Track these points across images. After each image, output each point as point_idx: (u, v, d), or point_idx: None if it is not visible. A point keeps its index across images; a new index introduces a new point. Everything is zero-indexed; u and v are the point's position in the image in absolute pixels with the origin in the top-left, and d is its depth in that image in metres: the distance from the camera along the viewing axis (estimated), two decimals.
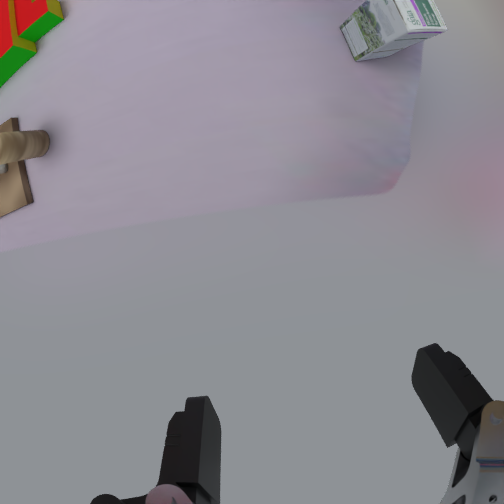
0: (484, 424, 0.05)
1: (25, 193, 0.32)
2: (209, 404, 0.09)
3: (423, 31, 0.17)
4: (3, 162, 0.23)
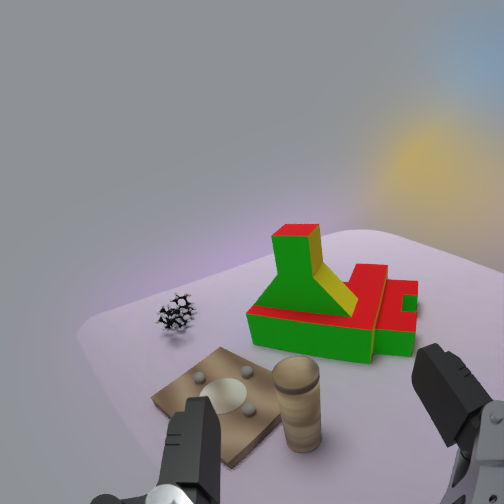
0: (484, 424, 0.05)
1: (238, 454, 0.26)
2: (209, 404, 0.09)
3: None
4: (288, 406, 0.23)
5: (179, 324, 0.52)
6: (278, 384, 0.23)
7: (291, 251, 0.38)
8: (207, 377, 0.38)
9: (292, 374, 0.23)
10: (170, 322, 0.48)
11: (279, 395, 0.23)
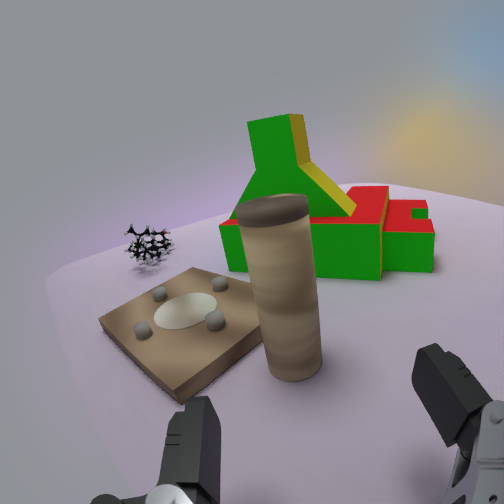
0: (484, 424, 0.05)
1: (192, 379, 0.19)
2: (209, 404, 0.09)
3: None
4: (262, 262, 0.16)
5: (151, 254, 0.45)
6: (243, 211, 0.15)
7: (271, 136, 0.30)
8: (170, 294, 0.31)
9: (266, 203, 0.16)
10: (138, 245, 0.41)
11: (246, 240, 0.16)
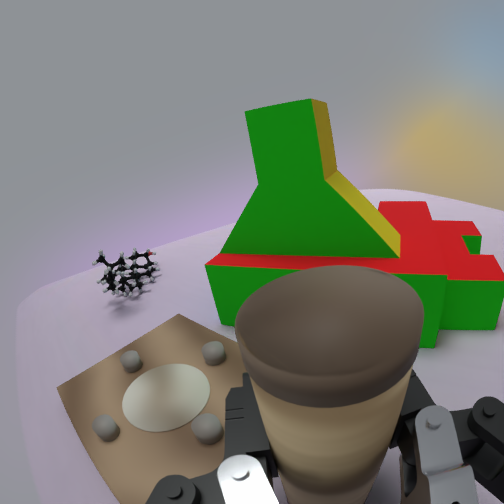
0: (421, 433, 0.06)
1: None
2: None
3: None
4: (301, 448, 0.06)
5: (130, 286, 0.35)
6: (260, 357, 0.05)
7: (282, 132, 0.20)
8: (146, 361, 0.21)
9: (318, 316, 0.06)
10: (111, 278, 0.30)
11: (265, 406, 0.06)
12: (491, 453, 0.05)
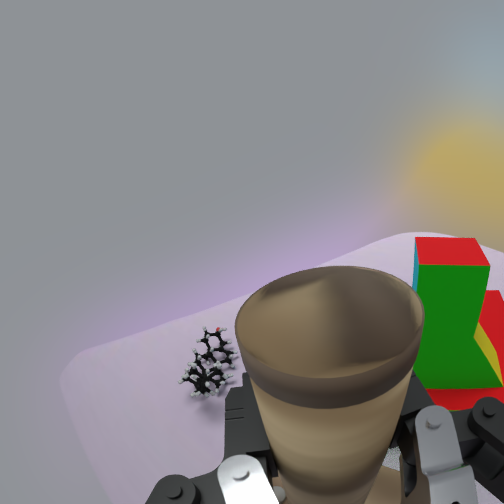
0: (421, 433, 0.06)
1: None
2: None
3: None
4: (301, 449, 0.05)
5: (216, 383, 0.31)
6: (260, 358, 0.05)
7: (452, 294, 0.16)
8: None
9: (318, 317, 0.06)
10: (206, 388, 0.27)
11: (265, 407, 0.06)
12: (491, 453, 0.05)
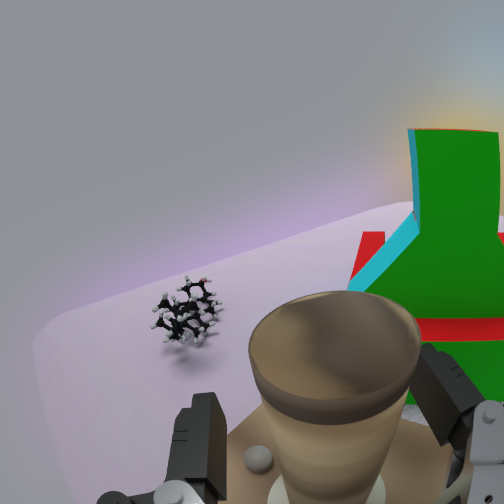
0: (477, 424, 0.05)
1: None
2: (215, 400, 0.09)
3: None
4: (307, 459, 0.06)
5: (195, 331, 0.28)
6: (273, 381, 0.05)
7: (462, 169, 0.12)
8: None
9: (325, 343, 0.06)
10: (179, 328, 0.24)
11: (275, 422, 0.06)
12: None
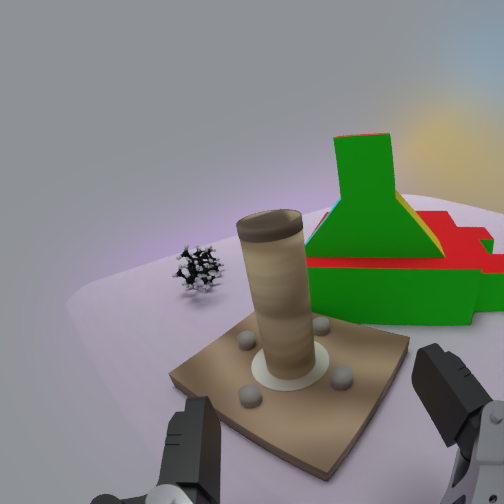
0: (484, 424, 0.05)
1: (342, 454, 0.14)
2: (209, 404, 0.09)
3: None
4: (260, 272, 0.18)
5: (204, 279, 0.40)
6: (243, 228, 0.17)
7: (365, 158, 0.24)
8: (258, 339, 0.26)
9: (264, 220, 0.18)
10: (195, 271, 0.36)
11: (246, 253, 0.18)
12: None
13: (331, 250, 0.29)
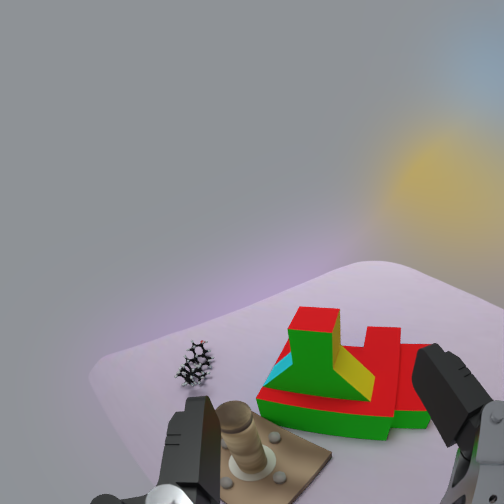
0: (484, 424, 0.05)
1: None
2: (209, 404, 0.09)
3: None
4: (227, 440, 0.26)
5: (199, 378, 0.49)
6: None
7: (311, 345, 0.32)
8: None
9: (229, 416, 0.27)
10: (191, 380, 0.45)
11: None
12: None
13: (286, 388, 0.37)
